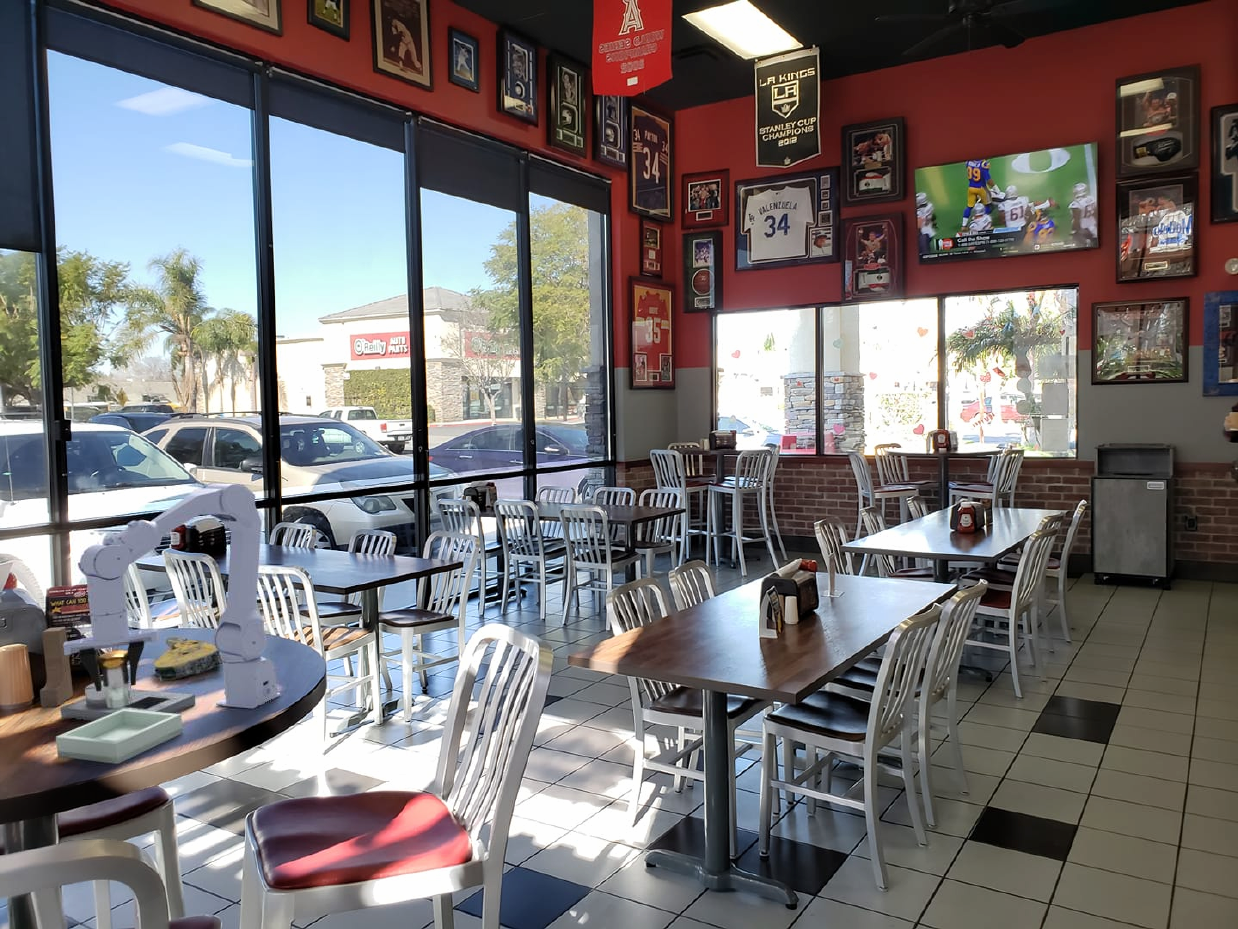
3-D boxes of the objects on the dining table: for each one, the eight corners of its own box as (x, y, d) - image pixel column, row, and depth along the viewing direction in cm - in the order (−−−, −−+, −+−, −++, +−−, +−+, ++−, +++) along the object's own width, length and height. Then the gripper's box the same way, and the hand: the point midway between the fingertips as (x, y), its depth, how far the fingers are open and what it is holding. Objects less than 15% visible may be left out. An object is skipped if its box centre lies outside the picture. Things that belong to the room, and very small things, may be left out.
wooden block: (57, 697, 193) (49, 627, 192) (73, 696, 193) (66, 626, 192) (41, 708, 187) (32, 636, 185) (58, 706, 187) (50, 635, 186)
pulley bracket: (195, 704, 184) (192, 675, 183) (146, 726, 173) (142, 695, 172) (113, 696, 191) (110, 668, 191) (61, 717, 180) (58, 687, 180)
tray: (182, 732, 168) (181, 714, 168) (117, 764, 155) (115, 744, 155) (125, 726, 173) (123, 708, 173) (57, 756, 160) (55, 737, 160)
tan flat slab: (211, 620, 228) (221, 648, 202) (217, 641, 229) (228, 672, 202) (149, 638, 222) (151, 670, 195) (156, 660, 223) (158, 695, 196)
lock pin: (141, 699, 167) (135, 653, 165) (117, 711, 162) (111, 664, 160) (121, 694, 168) (115, 648, 166) (97, 706, 164) (90, 659, 162)
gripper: (155, 601, 169) (162, 673, 170) (64, 613, 163) (72, 688, 164) (153, 609, 163) (161, 684, 164) (59, 622, 156) (67, 699, 158)
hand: (116, 687), depth 163 cm, fingers closed on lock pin, 5 cm apart
